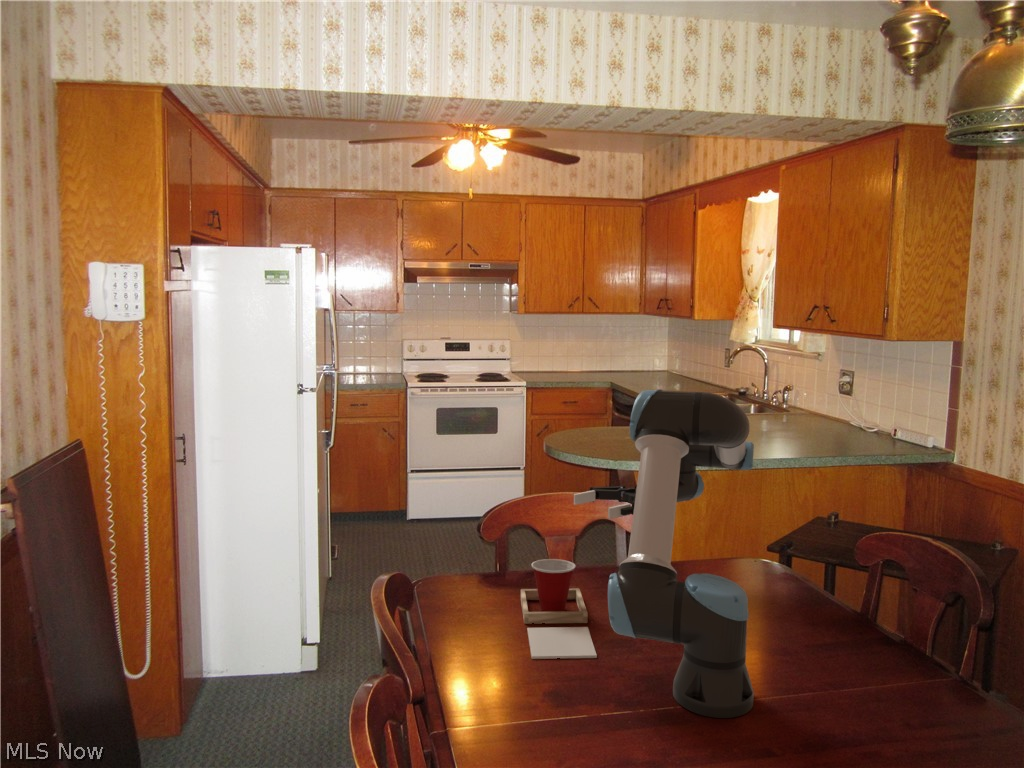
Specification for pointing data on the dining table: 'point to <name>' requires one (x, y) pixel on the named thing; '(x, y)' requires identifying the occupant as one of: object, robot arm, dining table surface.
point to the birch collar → (555, 616)
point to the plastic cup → (553, 583)
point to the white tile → (560, 643)
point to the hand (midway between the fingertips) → (591, 506)
